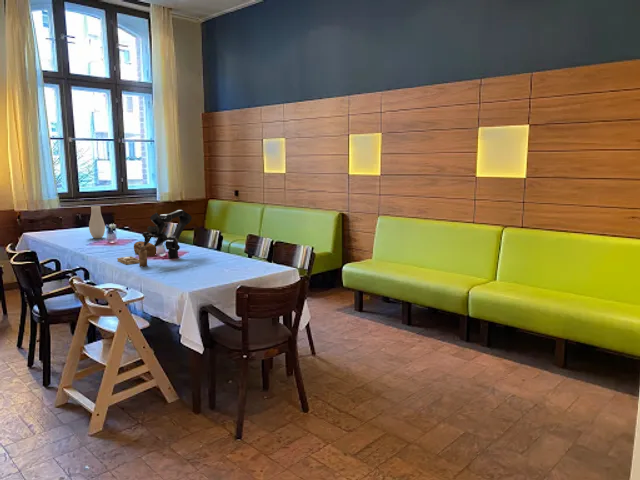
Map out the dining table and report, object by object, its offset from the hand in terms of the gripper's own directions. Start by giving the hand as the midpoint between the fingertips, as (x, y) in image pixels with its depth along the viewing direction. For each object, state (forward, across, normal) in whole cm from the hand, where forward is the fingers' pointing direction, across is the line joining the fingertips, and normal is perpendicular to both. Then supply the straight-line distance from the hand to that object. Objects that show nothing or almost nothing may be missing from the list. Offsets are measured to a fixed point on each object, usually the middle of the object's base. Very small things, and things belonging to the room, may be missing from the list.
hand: (149, 246), depth 345 cm
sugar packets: (+9, -21, +9) cm, 25 cm away
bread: (-10, -27, +29) cm, 41 cm away
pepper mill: (+15, 0, +4) cm, 15 cm away
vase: (-44, -124, +63) cm, 146 cm away
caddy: (+11, -18, +8) cm, 22 cm away
